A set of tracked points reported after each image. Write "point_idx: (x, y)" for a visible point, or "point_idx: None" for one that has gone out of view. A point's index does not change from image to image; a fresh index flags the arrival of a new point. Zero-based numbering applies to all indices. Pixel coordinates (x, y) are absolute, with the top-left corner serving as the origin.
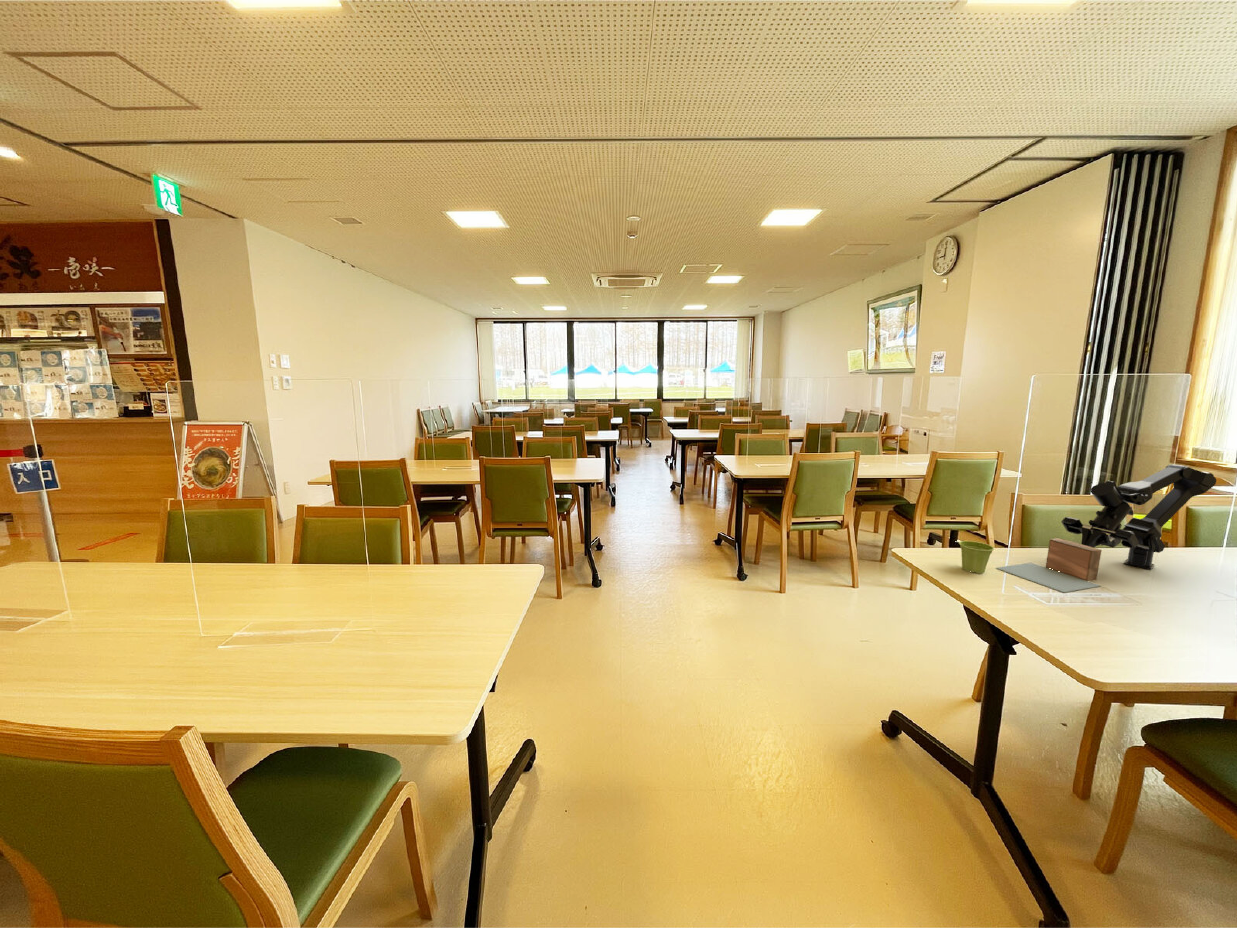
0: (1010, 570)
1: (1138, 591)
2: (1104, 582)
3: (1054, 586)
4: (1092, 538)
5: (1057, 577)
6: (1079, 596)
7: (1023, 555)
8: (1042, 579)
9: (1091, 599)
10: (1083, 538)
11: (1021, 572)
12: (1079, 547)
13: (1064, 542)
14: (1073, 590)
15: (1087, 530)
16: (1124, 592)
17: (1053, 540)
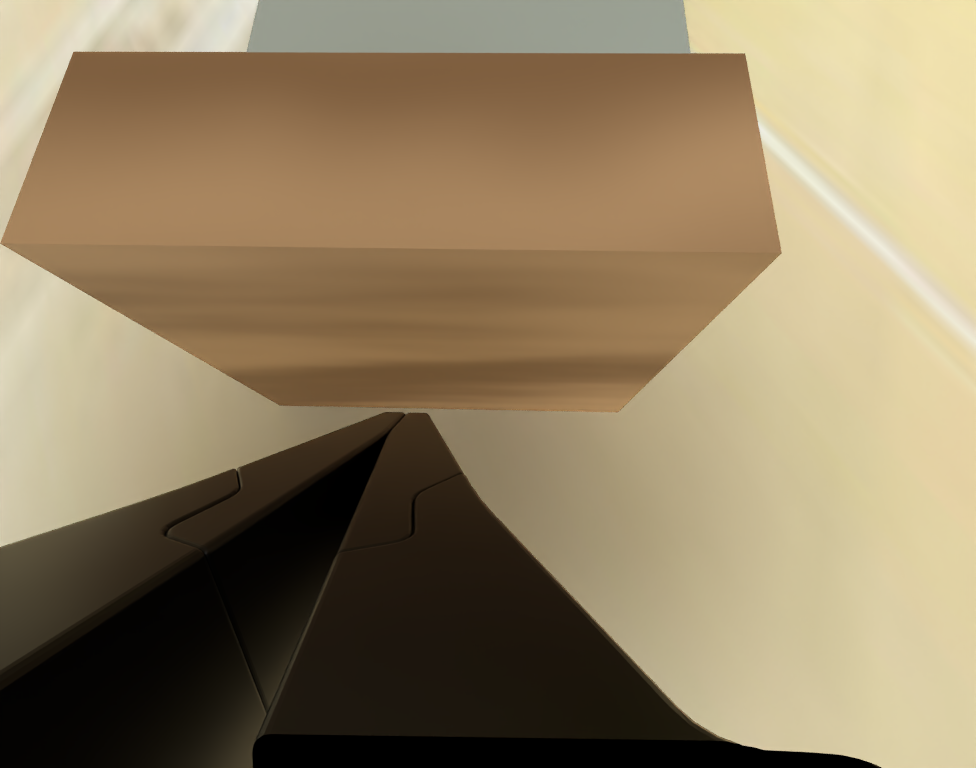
0: (614, 12)
1: (4, 444)
2: (220, 400)
3: (333, 9)
4: (188, 508)
5: None
6: (200, 16)
7: (925, 442)
8: (433, 45)
9: (147, 31)
10: (434, 484)
11: (566, 39)
12: (268, 54)
13: (531, 91)
14: (249, 45)
15: (334, 684)
16: (64, 318)
17: (681, 59)
